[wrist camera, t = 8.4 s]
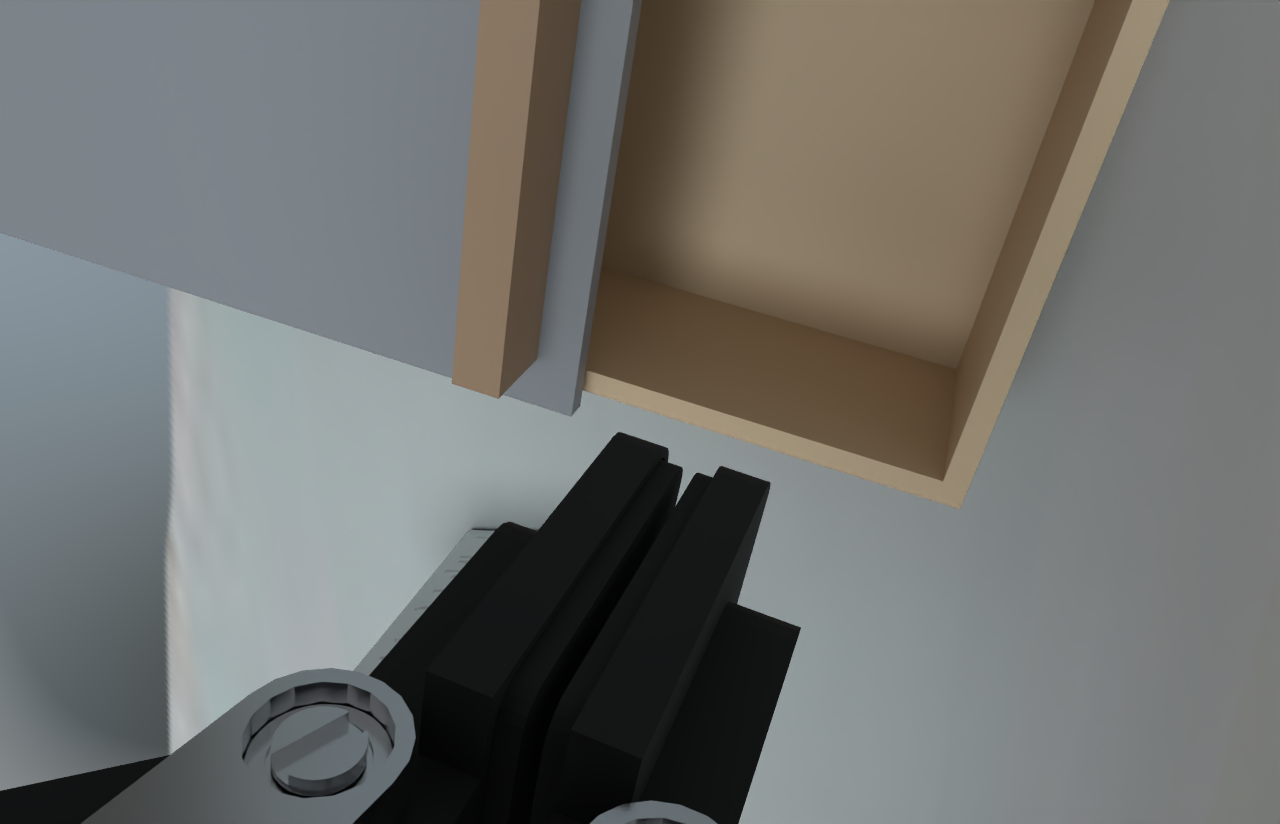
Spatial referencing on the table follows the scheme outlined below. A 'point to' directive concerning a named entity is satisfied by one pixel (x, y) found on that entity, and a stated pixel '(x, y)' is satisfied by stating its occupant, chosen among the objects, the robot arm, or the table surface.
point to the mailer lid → (335, 165)
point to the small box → (424, 597)
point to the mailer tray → (852, 217)
